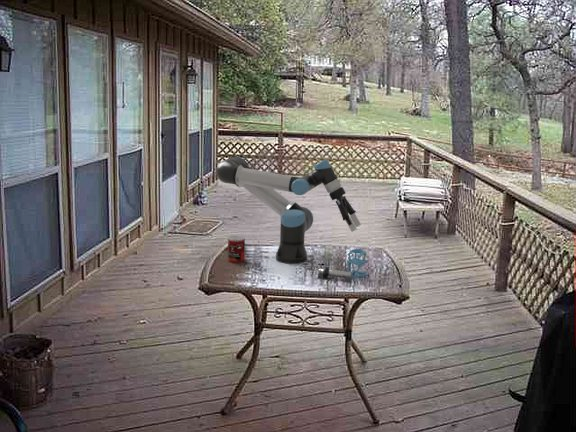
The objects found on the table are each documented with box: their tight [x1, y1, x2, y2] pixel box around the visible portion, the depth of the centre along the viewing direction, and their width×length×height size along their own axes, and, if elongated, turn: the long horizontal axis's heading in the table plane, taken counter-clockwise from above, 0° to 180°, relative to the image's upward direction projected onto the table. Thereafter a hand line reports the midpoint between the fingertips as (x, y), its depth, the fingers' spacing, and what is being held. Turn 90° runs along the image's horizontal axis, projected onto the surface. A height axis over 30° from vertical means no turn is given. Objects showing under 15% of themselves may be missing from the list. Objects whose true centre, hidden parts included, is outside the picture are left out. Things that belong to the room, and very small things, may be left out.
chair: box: [346, 248, 369, 280], centre depth 277 cm, size 8×8×12 cm
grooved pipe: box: [317, 266, 353, 283], centre depth 272 cm, size 14×5×5 cm, turn 74°
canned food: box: [227, 235, 246, 263], centre depth 294 cm, size 8×8×11 cm
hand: (356, 228), depth 301 cm, fingers open, 13 cm apart
